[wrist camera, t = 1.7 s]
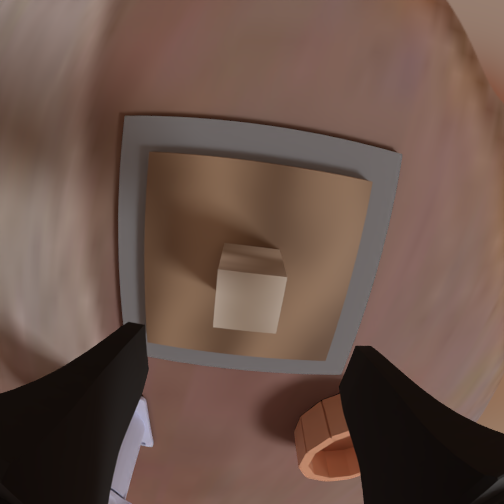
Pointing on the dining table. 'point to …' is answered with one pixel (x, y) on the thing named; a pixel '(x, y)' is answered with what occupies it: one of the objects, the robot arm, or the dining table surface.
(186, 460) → the dining table surface
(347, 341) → the mat
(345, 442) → the bowl
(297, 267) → the square tan board
